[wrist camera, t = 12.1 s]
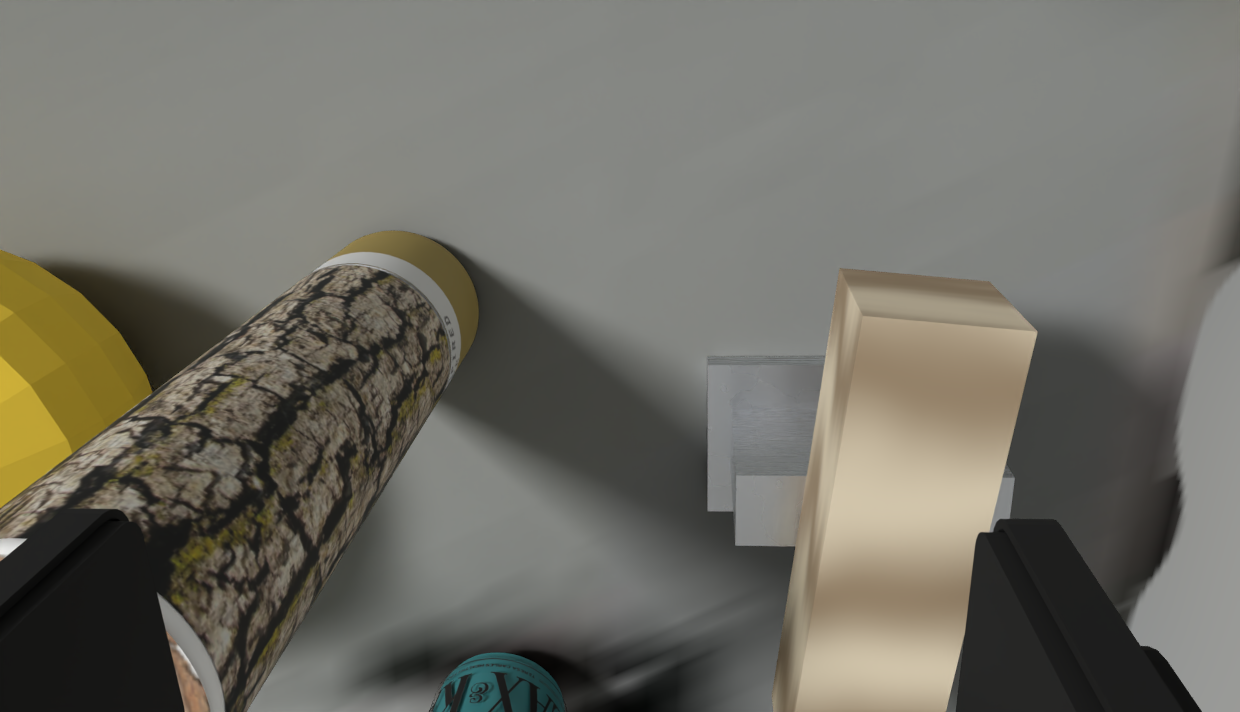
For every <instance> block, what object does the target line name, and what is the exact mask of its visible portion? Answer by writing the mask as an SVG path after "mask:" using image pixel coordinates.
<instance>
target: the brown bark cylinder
mask: <svg viewBox="0 0 1240 712" xmlns="http://www.w3.org/2000/svg"><path fill="white" fill-rule="evenodd" d="M478 320H479V307H478V300H477V295H476V292H475V288H474V286H473V283H472V281H471V279H470V277H469V275H468V273H467V272H466V270H465V269H464V267H463V266H462V265H461V263H460V262H459V261H458V260H457V259H456V258H455V257H454V256H453V255H452V254H451V253H450V252H449V251H448V250H446V249H445V248H444V247H442V246H441V245H439V244H438V243H436V242H434V241H433V240H431V239H428V238H426V237H424V236H421V235H418V234H415V233H410V232H405V231H382V232H377V233H372V234H369V235H366V236H363V237H361V238H359V239H357V240H355V241H354V242H352V243H350V244H349V245H348V246H346V247H345V248H344V249H342V250H341V251H340V252H338V253H337V254H336V255H334V256H333V257H332V258H331V259H329V260H328V261H327V262H325V263H323V264H322V265H320V266H319V267H318V268H316V269H315V270H314V271H312V272H311V273H310V274H308V275H307V276H306V277H304V278H303V279H302V280H300V281H299V282H298V283H296V284H295V285H294V286H293V287H291V288H290V289H289V290H287V291H286V292H285V293H283V294H282V295H281V296H279V297H278V298H277V299H275V300H274V301H273V302H271V303H270V304H269V305H267V306H266V307H265V308H264V309H262V310H261V311H260V312H258V313H257V314H256V315H254V316H253V317H252V318H250V319H249V320H248V321H246V322H245V323H244V324H242V325H241V326H240V327H238V328H237V329H236V330H234V331H233V332H232V333H231V334H229V335H228V336H227V337H225V338H224V339H223V340H221V341H220V342H219V343H217V344H216V345H215V346H213V347H212V348H211V349H209V350H208V351H207V352H205V353H204V354H203V355H202V356H200V357H199V358H198V359H196V360H195V361H194V362H192V363H191V364H190V365H188V366H187V367H186V368H184V369H183V370H182V371H180V372H179V373H178V374H176V375H175V376H174V377H173V378H171V379H170V380H169V381H167V382H166V383H165V384H163V385H162V386H161V387H159V388H158V389H157V390H155V391H154V392H153V393H151V394H150V395H149V396H147V397H146V398H145V399H143V400H142V401H141V402H140V403H138V404H137V405H136V406H134V407H133V408H132V409H130V410H129V411H128V412H126V413H125V414H124V415H122V416H121V417H120V418H118V419H117V420H116V421H114V422H113V423H112V424H111V425H109V426H108V427H107V428H105V429H104V430H103V431H101V432H100V433H99V434H97V435H96V436H95V437H93V438H92V439H91V440H89V441H88V442H87V443H85V444H84V445H83V446H81V447H80V448H79V449H78V450H76V451H75V452H74V453H72V454H71V455H70V456H68V457H67V458H66V459H64V460H63V461H62V462H60V463H59V464H58V465H56V466H55V467H54V468H52V469H51V470H50V471H49V472H47V473H46V474H45V475H43V476H42V477H41V478H39V479H38V480H37V481H35V482H34V483H33V484H31V485H30V486H29V487H27V488H26V489H25V490H23V491H22V492H21V493H19V494H18V495H17V496H16V497H14V498H13V499H12V500H10V501H9V502H8V503H6V504H5V505H4V506H2V507H1V508H0V561H1V560H3V559H4V558H5V557H6V556H7V555H9V554H10V553H11V552H12V551H13V550H15V549H16V548H17V547H18V546H19V545H21V544H22V543H23V542H24V541H25V540H27V539H28V538H29V537H30V536H31V535H33V534H34V533H35V532H36V531H37V530H39V529H40V528H41V527H42V526H43V525H45V524H46V523H47V522H48V521H49V520H51V519H52V518H53V517H54V516H55V515H56V514H58V513H59V512H61V511H63V510H64V509H71V508H90V509H118V510H120V511H122V512H124V514H125V515H126V516H127V517H128V519H129V522H134V523H137V524H138V526H139V527H140V528H141V531H142V533H143V536H144V541H145V545H146V549H147V553H148V557H149V562H150V566H151V570H152V574H153V578H154V582H155V587H156V591H157V595H158V599H159V603H160V608H161V612H162V616H163V620H164V624H165V628H166V633H167V637H168V641H169V645H170V649H171V654H172V658H173V662H174V666H175V670H176V675H177V679H178V683H179V687H180V691H181V695H182V700H183V704H184V709H185V712H247V710H248V708H249V707H250V705H251V704H252V702H253V700H254V699H255V697H256V695H257V694H258V692H259V691H260V689H261V687H262V686H263V684H264V682H265V681H266V679H267V678H268V676H269V674H270V673H271V671H272V670H273V668H274V666H275V665H276V663H277V661H278V660H279V658H280V657H281V655H282V653H283V652H284V650H285V648H286V647H287V645H288V644H289V642H290V640H291V639H292V637H293V635H294V634H295V632H296V631H297V629H298V627H299V626H300V624H301V623H302V621H303V619H304V618H305V616H306V614H307V613H308V611H309V610H310V608H311V606H312V605H313V603H314V601H315V600H316V598H317V597H318V595H319V593H320V592H321V590H322V588H323V587H324V585H325V584H326V582H327V580H328V579H329V577H330V576H331V574H332V572H333V571H334V569H335V567H336V566H337V564H338V563H339V561H340V559H341V558H342V556H343V554H344V553H345V551H346V550H347V548H348V546H349V545H350V543H351V542H352V540H353V538H354V537H355V535H356V533H357V532H358V530H359V529H360V527H361V525H362V524H363V522H364V520H365V519H366V517H367V516H368V514H369V512H370V511H371V509H372V507H373V506H374V504H375V503H376V501H377V499H378V498H379V496H380V495H381V493H382V491H383V490H384V488H385V486H386V485H387V483H388V482H389V480H390V478H391V477H392V475H393V473H394V472H395V470H396V469H397V467H398V465H399V464H400V462H401V460H402V459H403V457H404V456H405V454H406V452H407V451H408V449H409V448H410V446H411V444H412V443H413V441H414V439H415V438H416V436H417V435H418V433H419V431H420V430H421V428H422V426H423V425H424V423H425V422H426V420H427V418H428V417H429V415H430V413H431V412H432V410H433V409H434V407H435V405H436V404H437V402H438V401H439V399H440V397H441V396H442V394H443V392H444V391H445V389H446V388H447V386H448V384H449V383H450V381H451V379H452V377H453V376H454V373H455V372H456V370H457V369H458V367H459V365H460V364H461V362H462V360H463V359H464V357H465V356H466V354H467V352H468V351H469V349H470V347H471V345H472V343H473V341H474V338H475V335H476V331H477V327H478Z"/></svg>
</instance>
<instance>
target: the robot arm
mask: <svg viewBox="0 0 1240 712" xmlns="http://www.w3.org/2000/svg"><path fill="white" fill-rule="evenodd" d="M0 712H185V709H184V704H183V700H182V695H181V691H180V687H179V683H178V679H177V675H176V670H175V666H174V662H173V658H172V654H171V649H170V645H169V641H168V637H167V633H166V628H165V624H164V620H163V616H162V612H161V608H160V603H159V599H158V595H157V591H156V587H155V582H154V578H153V574H152V570H151V566H150V562H149V557H148V553H147V549H146V545H145V541H144V536H143V533H142V531H141V528H140V527H139V526H138V524H137V523H134V522H129V519H128V517H127V516H126V515H125V514H124V512H122V511H120V510H118V509H90V508H71V509H64V510H63V511H61V512H59V513H58V514H56V515H55V516H54V517H53V518H52V519H51V520H49V521H48V522H47V523H46V524H45V525H43V526H42V527H41V528H40V529H39V530H37V531H36V532H35V533H34V534H33V535H31V536H30V537H29V538H28V539H27V540H25V541H24V542H23V543H22V544H21V545H19V546H18V547H17V548H16V549H15V550H13V551H12V552H11V553H10V554H9V555H7V556H6V557H5V558H4V559H3V560H1V561H0ZM956 712H1202V711H1201V710H1200V708H1199V707H1198V705H1197V704H1196V702H1195V701H1194V700H1193V698H1192V697H1191V695H1190V694H1189V692H1188V691H1187V689H1186V688H1185V686H1184V685H1183V683H1182V682H1181V680H1180V679H1179V678H1178V676H1177V675H1176V673H1175V672H1174V670H1173V669H1172V667H1171V666H1170V664H1169V663H1168V662H1167V660H1166V659H1165V658H1164V657H1163V656H1162V655H1161V654H1160V653H1159V651H1158V650H1156V649H1153V648H1151V647H1148V646H1140V645H1139V643H1138V642H1137V640H1136V639H1135V637H1134V636H1133V634H1132V633H1131V631H1130V630H1129V628H1128V627H1127V625H1126V624H1125V622H1124V621H1123V619H1122V617H1121V616H1120V614H1119V613H1118V611H1117V610H1116V608H1115V607H1114V605H1113V604H1112V602H1111V601H1110V599H1109V598H1108V596H1107V595H1106V593H1105V592H1104V590H1103V589H1102V587H1101V586H1100V584H1099V583H1098V581H1097V580H1096V578H1095V577H1094V575H1093V574H1092V572H1091V571H1090V569H1089V568H1088V566H1087V565H1086V563H1085V561H1084V560H1083V558H1082V557H1081V555H1080V554H1079V552H1078V551H1077V549H1076V548H1075V546H1074V545H1073V543H1072V542H1071V540H1070V539H1069V537H1068V536H1067V534H1066V533H1065V531H1064V530H1063V528H1062V527H1061V525H1060V524H1059V523H1058V522H1057V521H1056V520H1052V519H999V520H998V521H997V522H996V524H995V527H994V530H993V532H980V533H979V534H978V536H977V539H976V543H975V550H974V559H973V567H972V576H971V585H970V593H969V602H968V611H967V619H966V628H965V637H964V645H963V654H962V662H961V671H960V680H959V688H958V697H957V706H956Z"/></svg>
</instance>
